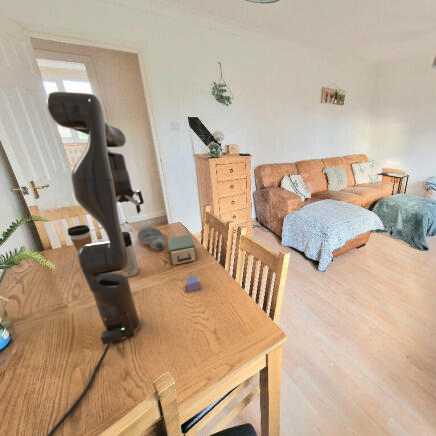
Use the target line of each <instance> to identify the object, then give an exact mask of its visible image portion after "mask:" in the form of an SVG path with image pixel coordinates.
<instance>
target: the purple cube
mask: <svg viewBox="0 0 436 436" xmlns="http://www.w3.org/2000/svg"><path fill="white" fill-rule="evenodd" d="M185 281H186V282H185V283H186V288H187V292H188V293H190V292H194V291H198V290H200V283H199V278H198V275H195V276H191V277H190V276H189V277H187V278H185Z"/></svg>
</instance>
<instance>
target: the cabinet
mask: <svg viewBox="0 0 436 436" xmlns="http://www.w3.org/2000/svg"><path fill="white" fill-rule="evenodd" d="M193 239H194V238H193V236H192V234H191V233H190V234H189V233H188V234H183V235H178V236H177V235H176V236H171V237H167V245H168V251H169V257H170V263H171V266H174V265H173V261H172V256H171V252H172V251H174V250H179V249H184V248H189V247H192V248H193V247H194V251H195V259H196V260H195V261H197V260H198V259H197V252H196V245H195V243H194V242H195V241H194V240H193Z"/></svg>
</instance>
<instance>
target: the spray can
mask: <svg viewBox="0 0 436 436" xmlns="http://www.w3.org/2000/svg"><path fill="white" fill-rule="evenodd" d="M122 234H123V238H124V242H125V246H126V251H127V256H128V263H127V267H126V268H125V269H123V270H120V272H121V273H120V274H123V275H125V276H126V277H127V278H129V277H134V276H136V275H137V274H138V273H139V270H140V269H139V264H138V261H137V257H136V253H135V248H134V245H133V241H132V238H131V234H130V232H129V231H122Z"/></svg>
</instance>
